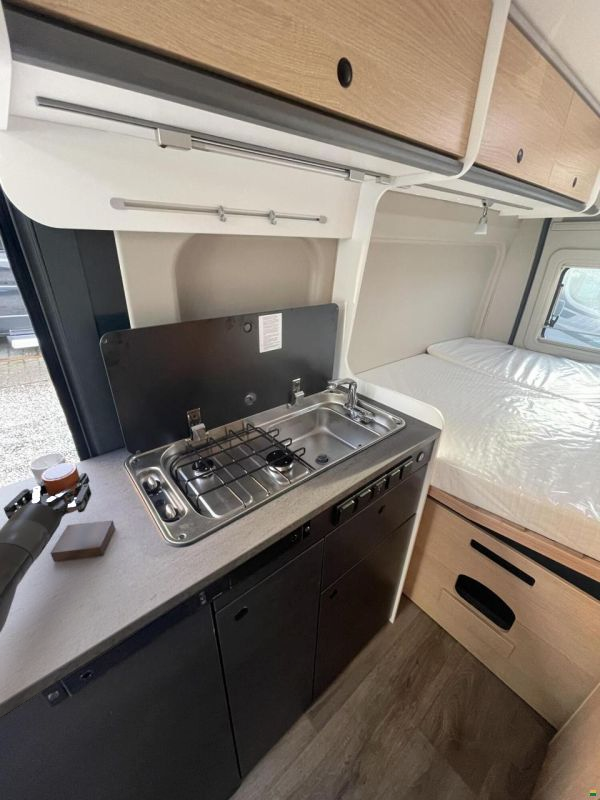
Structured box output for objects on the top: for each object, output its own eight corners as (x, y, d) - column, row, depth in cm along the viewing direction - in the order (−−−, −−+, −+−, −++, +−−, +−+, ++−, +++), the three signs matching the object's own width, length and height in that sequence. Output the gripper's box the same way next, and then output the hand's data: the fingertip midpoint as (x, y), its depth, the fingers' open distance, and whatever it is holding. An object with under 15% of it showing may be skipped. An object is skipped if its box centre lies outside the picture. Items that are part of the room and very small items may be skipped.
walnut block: (55, 565, 72) (50, 553, 70) (72, 537, 79) (67, 525, 78) (104, 559, 74) (100, 547, 72) (116, 532, 81) (112, 520, 79)
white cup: (39, 502, 90) (27, 472, 86) (42, 485, 96) (31, 457, 92) (73, 492, 94) (63, 464, 89) (74, 477, 100) (64, 449, 96)
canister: (47, 515, 69) (34, 481, 66) (62, 496, 75) (50, 463, 71) (79, 512, 70) (68, 479, 67) (91, 493, 76) (81, 461, 72)
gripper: (63, 516, 57) (99, 461, 72) (-31, 525, 55) (27, 466, 70) (74, 547, 60) (107, 487, 75) (-14, 557, 58) (38, 493, 73)
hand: (68, 477), depth 73 cm, fingers closed on canister, 6 cm apart
